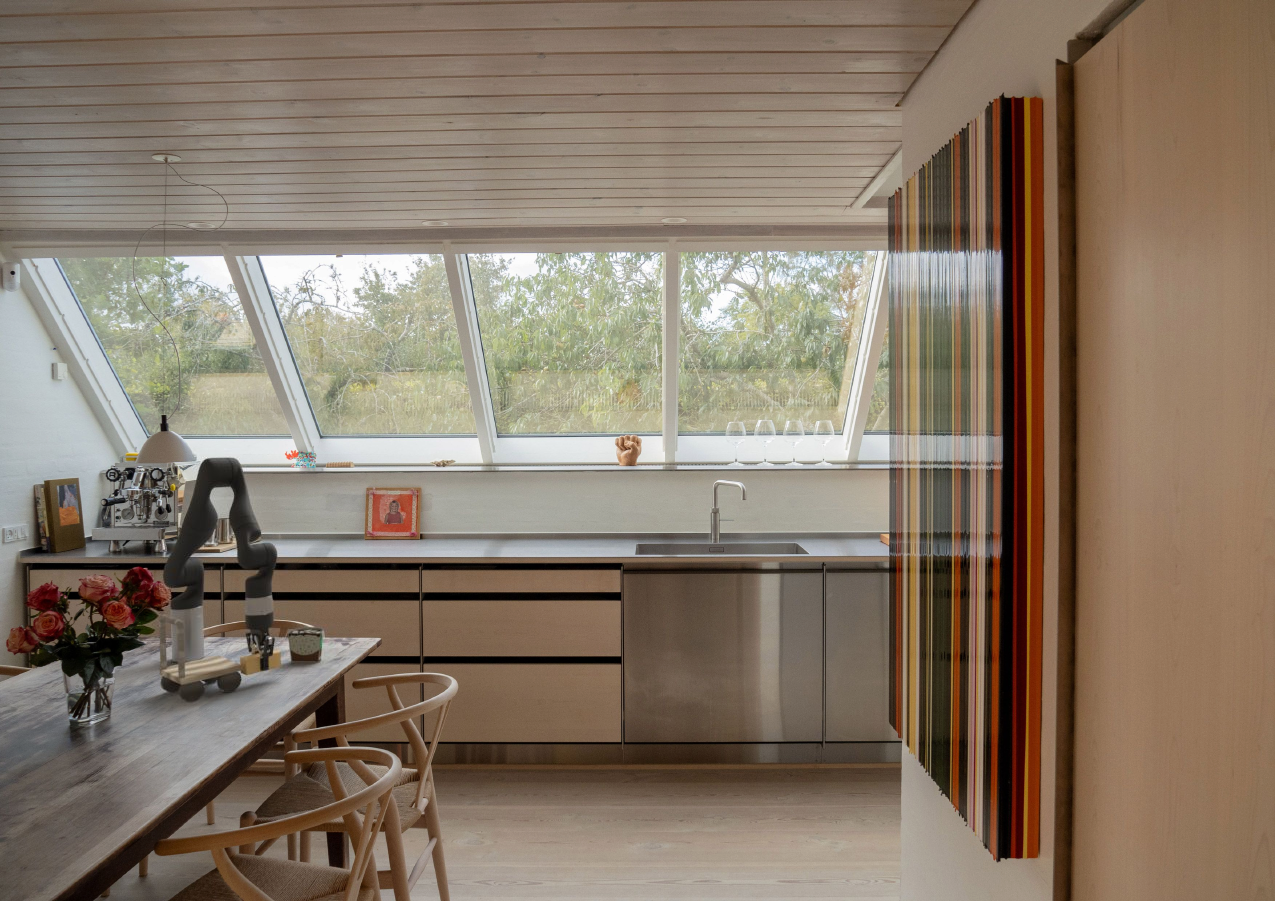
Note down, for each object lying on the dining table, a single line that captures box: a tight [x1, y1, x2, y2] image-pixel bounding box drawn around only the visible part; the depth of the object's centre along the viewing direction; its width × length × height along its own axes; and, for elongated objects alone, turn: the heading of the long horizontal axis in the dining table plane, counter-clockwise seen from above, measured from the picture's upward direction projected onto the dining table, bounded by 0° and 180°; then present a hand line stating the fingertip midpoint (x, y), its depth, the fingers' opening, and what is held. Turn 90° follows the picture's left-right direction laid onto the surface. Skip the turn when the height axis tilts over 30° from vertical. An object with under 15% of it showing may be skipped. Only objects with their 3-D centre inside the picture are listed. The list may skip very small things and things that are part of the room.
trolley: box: [158, 613, 242, 703], centre depth 222 cm, size 16×16×23 cm
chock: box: [239, 649, 282, 676], centre depth 229 cm, size 4×10×4 cm, turn 141°
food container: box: [285, 626, 326, 663], centre depth 252 cm, size 12×6×10 cm, turn 84°
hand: (261, 668), depth 229 cm, fingers closed on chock, 4 cm apart
